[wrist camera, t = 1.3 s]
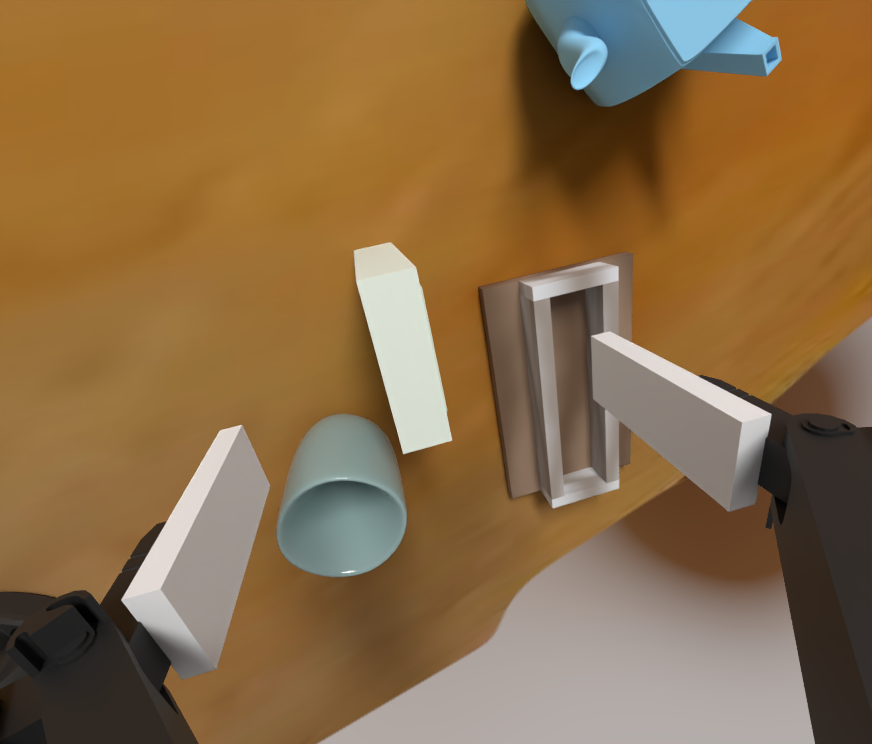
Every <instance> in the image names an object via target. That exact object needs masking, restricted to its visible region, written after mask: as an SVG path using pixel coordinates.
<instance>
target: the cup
mask: <svg viewBox="0 0 872 744" xmlns="http://www.w3.org/2000/svg"><path fill="white" fill-rule="evenodd" d="M406 524H407V505H406V498H405V493H404V487H403V482H402V477H401V472H400V468H399V464H398V460H397V457H396V454H395V451H394V448H393V446H392V443H391V441H390V440H389V438H388V437H387V435H386V434H385V432H384V431H383V430H382V429H381V428H380V427H379V426H378V425H377V424H376V423H374V422H372V421H371V420H369V419H367V418H364V417H362V416H358V415H354V414H334V415H330V416H327V417H325V418H323V419H321V420H319V421H318V422H317V423H315V424H314V425H313V426H312V427H311V428H310V429H309V430H308V431H307V433H306V434H305V435H304V437H303V438H302V439H301V441H300V443H299V445H298V447H297V449H296V451H295V453H294V456H293V459H292V461H291V465H290V468H289V471H288V475H287V479H286V482H285V486H284V490H283V494H282V499H281V503H280V507H279V512H278V517H277V528H276V537H277V542H278V547H279V548H280V550H281V552H282V554H283V556H284V557H285V558H286V559H287V560H288V561H289V562H290V563H292V564H293V565H295V566H296V567H298V568H300V569H302V570H304V571H307V572H309V573H312V574H317V575H321V576H329V577H348V576H354V575H359V574H362V573H365V572H368V571H371V570H372V569H374V568H376V567H378V566H380V565H381V564H382V563H383V562H385V561H386V560H387V559H388V558H389V557H390V556H391V555H392V554H393V553H394V551H395V550H396V549H397V547H398V545H399V544H400V542H401V541H402V538H403V536H404V533H405V530H406Z"/></svg>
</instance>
